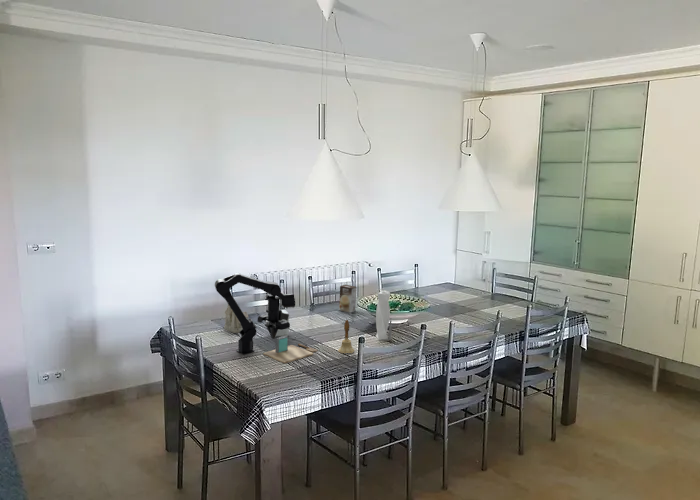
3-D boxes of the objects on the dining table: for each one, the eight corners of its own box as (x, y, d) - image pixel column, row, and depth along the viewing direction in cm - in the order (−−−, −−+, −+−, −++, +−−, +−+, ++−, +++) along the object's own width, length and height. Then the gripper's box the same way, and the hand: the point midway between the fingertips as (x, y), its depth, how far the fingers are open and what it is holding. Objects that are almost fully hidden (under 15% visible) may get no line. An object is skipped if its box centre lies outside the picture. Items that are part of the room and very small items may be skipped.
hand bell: (340, 354, 262) (341, 323, 260) (336, 348, 270) (337, 318, 267) (356, 353, 264) (357, 322, 262) (351, 347, 272) (353, 317, 270)
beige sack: (233, 334, 287) (234, 306, 285) (219, 327, 299) (220, 301, 298) (258, 331, 297) (259, 304, 296) (243, 324, 309) (245, 299, 308)
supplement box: (272, 332, 292) (272, 310, 290) (285, 331, 294) (285, 309, 292) (275, 336, 285) (275, 313, 283) (288, 335, 288) (289, 313, 286)
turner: (312, 352, 263) (312, 350, 263) (296, 345, 272) (296, 344, 272) (317, 350, 266) (317, 349, 266) (300, 344, 274) (300, 342, 274)
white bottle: (377, 341, 284) (379, 290, 279) (372, 337, 292) (374, 287, 287) (391, 341, 286) (394, 290, 282) (386, 336, 294) (389, 286, 289)
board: (284, 363, 247) (284, 361, 247) (263, 354, 258) (263, 352, 258) (313, 354, 260) (313, 353, 260) (291, 346, 271) (291, 344, 271)
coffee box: (338, 310, 342) (339, 285, 339) (343, 308, 347) (344, 284, 345) (350, 312, 337) (351, 288, 334) (355, 310, 342) (356, 286, 340)
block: (278, 353, 258) (278, 339, 257) (275, 352, 260) (275, 338, 259) (287, 350, 262) (288, 336, 261) (285, 349, 264) (285, 335, 263)
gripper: (298, 309, 262) (298, 339, 264) (274, 301, 275) (274, 331, 277) (281, 313, 254) (280, 344, 256) (257, 305, 266) (256, 335, 269)
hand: (273, 338), depth 265 cm, fingers closed
